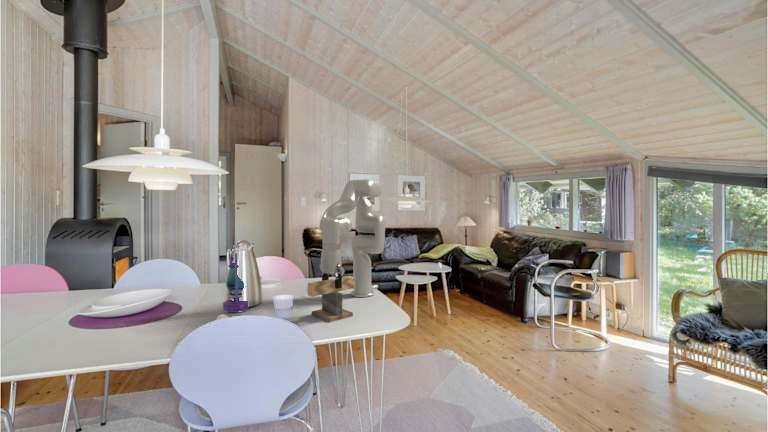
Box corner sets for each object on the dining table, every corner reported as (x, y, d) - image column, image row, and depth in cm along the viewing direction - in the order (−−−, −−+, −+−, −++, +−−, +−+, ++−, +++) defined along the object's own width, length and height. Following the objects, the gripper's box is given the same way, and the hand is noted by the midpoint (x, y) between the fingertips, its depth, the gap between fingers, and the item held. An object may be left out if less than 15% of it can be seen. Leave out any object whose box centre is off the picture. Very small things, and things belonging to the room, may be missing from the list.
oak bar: (349, 286, 175) (349, 276, 174) (354, 288, 172) (354, 277, 172) (307, 295, 160) (307, 283, 160) (312, 296, 157) (312, 284, 157)
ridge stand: (334, 309, 176) (333, 286, 175) (352, 315, 165) (352, 292, 165) (311, 314, 167) (311, 291, 167) (329, 322, 157) (329, 296, 157)
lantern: (223, 307, 179) (221, 244, 178) (249, 305, 183) (248, 243, 182) (223, 315, 167) (221, 247, 165) (251, 312, 171) (249, 246, 170)
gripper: (312, 246, 169) (313, 284, 170) (335, 249, 156) (336, 291, 157) (327, 244, 174) (327, 281, 175) (350, 248, 161) (350, 288, 162)
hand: (331, 286), depth 166 cm, fingers open, 9 cm apart
